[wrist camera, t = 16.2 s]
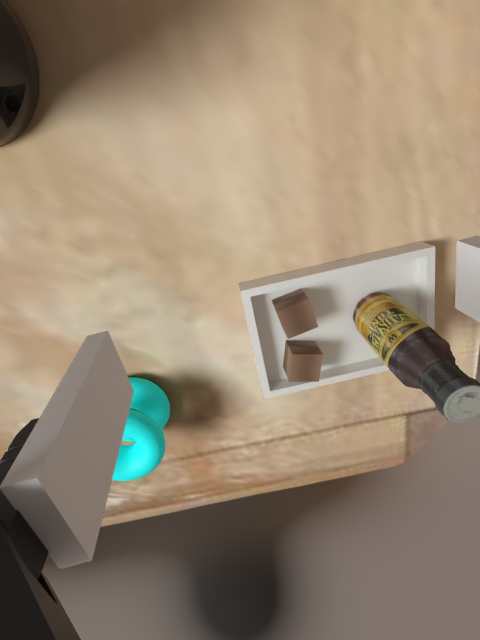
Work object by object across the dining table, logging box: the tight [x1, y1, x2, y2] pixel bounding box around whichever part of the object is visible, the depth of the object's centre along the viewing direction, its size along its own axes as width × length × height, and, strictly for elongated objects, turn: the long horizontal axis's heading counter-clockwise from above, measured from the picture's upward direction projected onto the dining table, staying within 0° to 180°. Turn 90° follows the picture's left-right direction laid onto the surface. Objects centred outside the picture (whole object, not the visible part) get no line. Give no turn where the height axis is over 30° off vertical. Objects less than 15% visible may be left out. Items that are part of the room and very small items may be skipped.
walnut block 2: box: [283, 340, 323, 382], centre depth 49 cm, size 4×4×4 cm
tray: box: [238, 242, 435, 399], centre depth 48 cm, size 24×16×3 cm, turn 102°
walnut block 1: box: [272, 288, 318, 339], centre depth 46 cm, size 4×4×4 cm
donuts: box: [112, 377, 170, 481], centre depth 48 cm, size 10×10×10 cm
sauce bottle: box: [353, 292, 480, 423], centre depth 40 cm, size 7×6×20 cm
